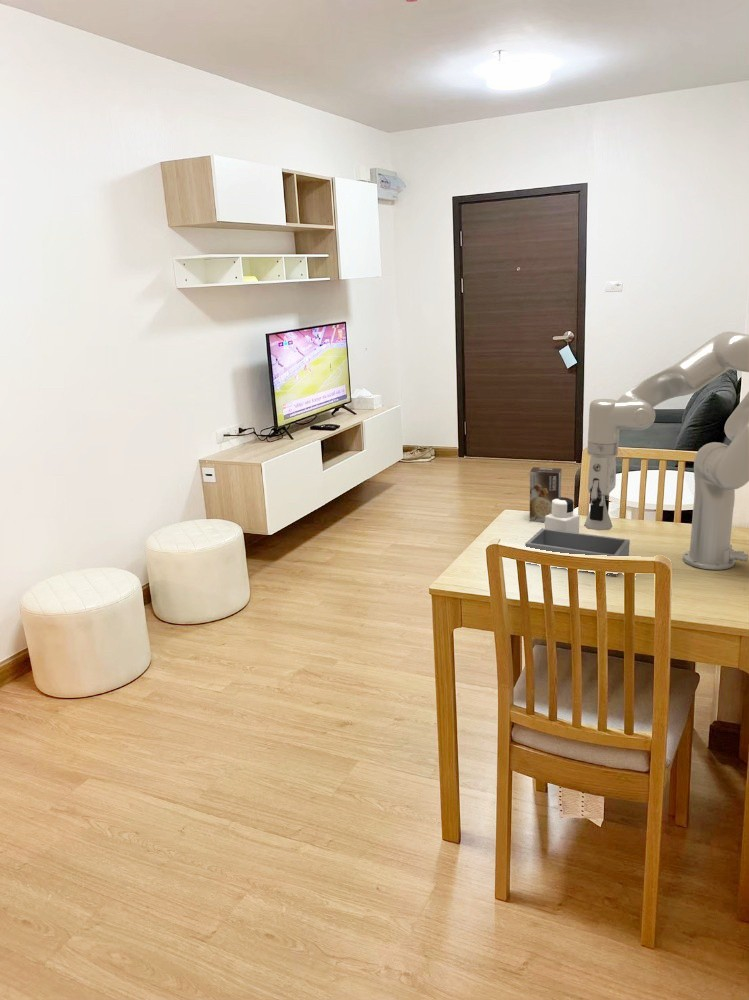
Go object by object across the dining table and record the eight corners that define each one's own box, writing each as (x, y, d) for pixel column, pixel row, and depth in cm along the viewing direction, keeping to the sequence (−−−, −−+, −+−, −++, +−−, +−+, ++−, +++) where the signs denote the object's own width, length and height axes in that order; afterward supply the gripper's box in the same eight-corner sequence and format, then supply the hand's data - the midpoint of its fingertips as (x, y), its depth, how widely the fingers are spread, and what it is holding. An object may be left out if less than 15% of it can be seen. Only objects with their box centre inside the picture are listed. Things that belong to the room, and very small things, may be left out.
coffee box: (561, 517, 245) (562, 468, 241) (558, 523, 240) (560, 473, 235) (532, 515, 249) (533, 466, 244) (528, 521, 243) (529, 471, 238)
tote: (628, 559, 209) (629, 539, 207) (616, 576, 197) (617, 556, 196) (541, 546, 220) (542, 528, 219) (524, 562, 209) (525, 543, 207)
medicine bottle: (558, 533, 231) (559, 494, 228) (579, 538, 226) (580, 498, 223) (544, 539, 227) (545, 499, 223) (564, 544, 222) (566, 504, 218)
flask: (613, 532, 199) (615, 494, 196) (584, 531, 201) (586, 493, 198) (611, 523, 206) (613, 486, 203) (583, 522, 207) (584, 486, 205)
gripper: (609, 456, 189) (605, 528, 194) (625, 443, 203) (621, 510, 208) (578, 454, 192) (575, 524, 197) (596, 440, 206) (593, 506, 211)
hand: (599, 516), depth 202 cm, fingers closed on flask, 4 cm apart
